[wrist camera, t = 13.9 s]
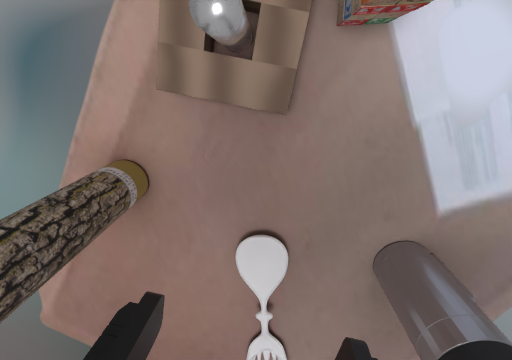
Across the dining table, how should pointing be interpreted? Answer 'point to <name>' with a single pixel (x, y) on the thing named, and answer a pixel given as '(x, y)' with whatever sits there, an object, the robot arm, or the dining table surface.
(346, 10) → the stack of blocks
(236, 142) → the dining table surface
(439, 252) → the dining table surface
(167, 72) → the hole block
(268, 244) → the spoon
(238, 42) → the long pin
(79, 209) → the paper tube
